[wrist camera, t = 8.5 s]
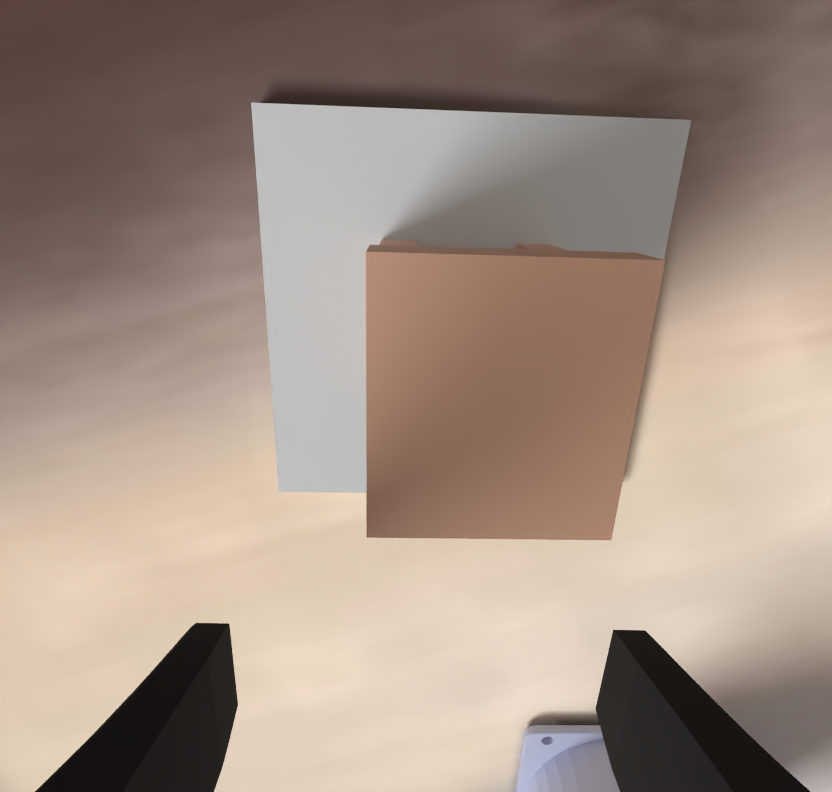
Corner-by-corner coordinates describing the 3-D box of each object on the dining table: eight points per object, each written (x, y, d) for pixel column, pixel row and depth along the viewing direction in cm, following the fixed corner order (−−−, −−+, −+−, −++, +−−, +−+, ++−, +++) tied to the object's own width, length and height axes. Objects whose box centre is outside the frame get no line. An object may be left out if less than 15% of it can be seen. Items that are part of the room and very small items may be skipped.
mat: (680, 122, 15) (691, 120, 15) (611, 487, 19) (617, 496, 19) (257, 105, 15) (251, 102, 14) (282, 482, 19) (278, 491, 19)
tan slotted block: (531, 406, 18) (611, 540, 11) (380, 403, 17) (366, 537, 11) (552, 230, 16) (665, 260, 9) (381, 224, 15) (365, 251, 9)
